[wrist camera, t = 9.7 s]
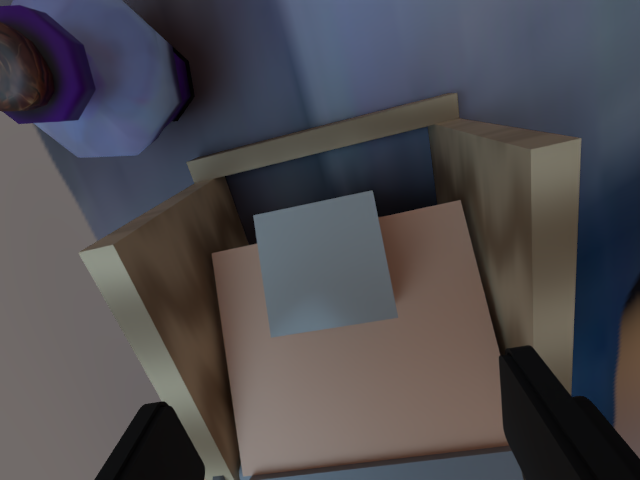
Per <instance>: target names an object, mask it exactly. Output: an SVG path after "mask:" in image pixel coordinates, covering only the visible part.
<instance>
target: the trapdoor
mask: <svg viewBox="0 0 640 480" xmlns="http://www.w3.org/2000/svg"><path fill="white" fill-rule="evenodd" d="M378 219H379V224H380V229H381V234H382V239H383V244H384V249H385V254H386V259H387V264H388V269H389V274H390V279H391V284H392V289H393V294H394V299H395V304H396V309H397V314H398V318H393V319H387V320H380V321H374V322H367V323H361V324H355V325H348V326H342V327H336V328H329V329H323V330H317V331H310V332H304V333H298V334H291V335H285V336H278V337H272V338H271V334H270V327H269V320H268V314H267V307H266V300H265V293H264V286H263V279H262V273H261V266H260V259H259V252H258V245H257V244H253V245H248V246H243V247H239V248H234V249H229V250H225V251H220V252H215V253H212V260H213V267H214V275H215V282H216V289H217V296H218V303H219V310H220V317H221V324H222V331H223V338H224V346H225V353H226V360H227V367H228V374H229V381H230V388H231V395H232V402H233V409H234V416H235V424H236V431H237V438H238V445H239V452H240V459H241V464H240V468H239V478H240V480H523V476H522V472H521V468H520V466H519V464H518V462H517V460H516V458H515V456H514V454H513V452H512V450H511V448H510V446H509V444H508V442H507V440H506V437H505V434H504V430H503V419H502V403H501V387H500V371H499V356H500V352H499V348H498V345H497V341H496V337H495V333H494V329H493V325H492V321H491V317H490V313H489V309H488V305H487V302H486V298H485V294H484V290H483V286H482V282H481V278H480V274H479V270H478V266H477V262H476V259H475V255H474V251H473V247H472V243H471V239H470V235H469V231H468V227H467V223H466V219H465V215H464V212H463V208H462V204H461V200H458V201H453V202H449V203H444V204H439V205H435V206H430V207H425V208H421V209H416V210H411V211H407V212H402V213H397V214H393V215H388V216H383V217H379V218H378Z"/></svg>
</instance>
